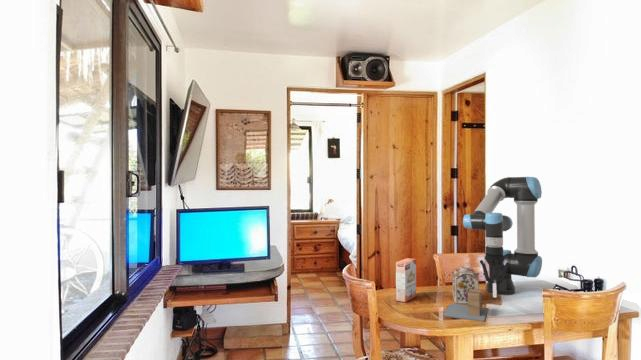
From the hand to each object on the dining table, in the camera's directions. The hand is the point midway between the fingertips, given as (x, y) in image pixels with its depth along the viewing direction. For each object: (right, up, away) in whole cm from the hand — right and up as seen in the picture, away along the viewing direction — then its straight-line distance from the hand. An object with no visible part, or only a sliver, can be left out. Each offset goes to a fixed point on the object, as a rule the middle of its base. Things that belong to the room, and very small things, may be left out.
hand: (494, 296), depth 187 cm
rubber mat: (-11, -9, +6) cm, 16 cm away
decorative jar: (-5, -10, +25) cm, 27 cm away
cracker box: (-35, -10, +30) cm, 47 cm away
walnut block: (-8, -9, +4) cm, 12 cm away
